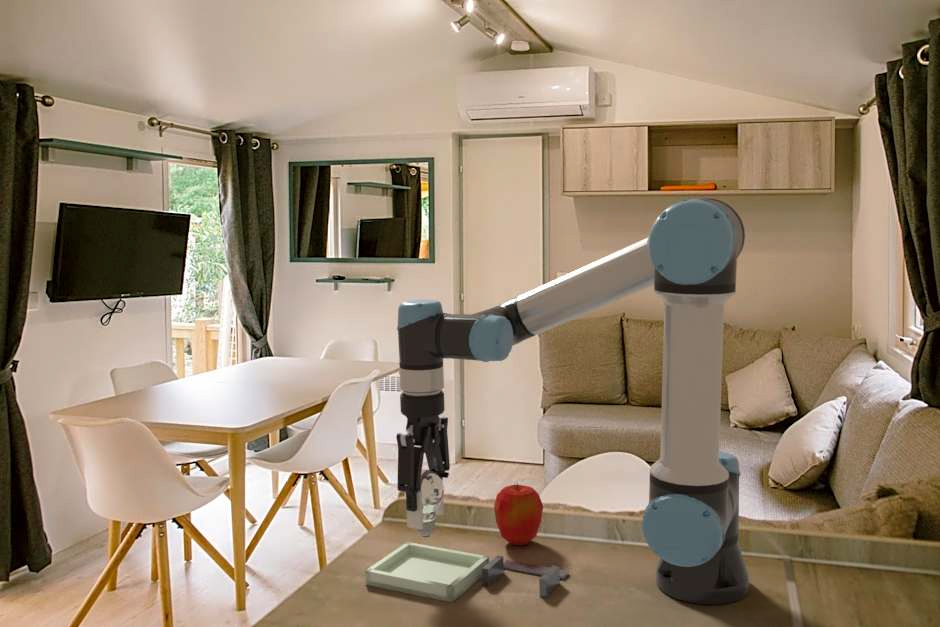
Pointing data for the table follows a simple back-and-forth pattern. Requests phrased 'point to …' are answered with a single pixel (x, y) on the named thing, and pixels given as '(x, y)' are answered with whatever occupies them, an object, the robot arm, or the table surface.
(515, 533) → the apple
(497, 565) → the clip holder
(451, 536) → the table surface
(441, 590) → the parts tray
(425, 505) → the light bulb
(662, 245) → the robot arm
